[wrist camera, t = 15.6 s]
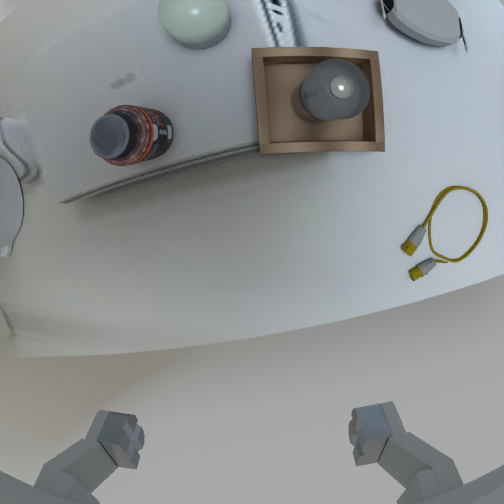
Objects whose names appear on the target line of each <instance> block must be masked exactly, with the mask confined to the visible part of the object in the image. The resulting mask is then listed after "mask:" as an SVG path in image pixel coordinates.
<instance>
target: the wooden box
mask: <svg viewBox="0 0 504 504" xmlns="http://www.w3.org/2000/svg"><path fill="white" fill-rule="evenodd" d="M328 59H343V60H347V61H349V62H351V63H353V64H355V65H356V66H357V67H359V68H360V69H361V70H362V72H363V73H364V74H365V76H366V78H367V80H368V82H369V86H370V98H369V102H368V104H367V106H366V108H365V109H364V110H363V111H362V112H361V113H360V114H358V115H357V116H355V117H352V118H349V119H342V120H335V121H328V122H321V123H310V122H306V121H304V120H302V119H301V118H300V117H298V116H297V114H296V113H295V112H294V110H293V107H292V103H291V97H292V93H293V91H294V90H295V88H296V87H297V86H298V85H299V84H300V83H301V81H302V80H303V79H304V78H305V77H306V76H307V75H308V74H309V73H310V72H311V71H312V70H313V69H314V68H315V66H317V65H318V64H319V63H321V62H322V61H325V60H328ZM252 64H253V75H254V88H255V100H256V112H257V125H258V138H259V151H260V154H272V153H291V152H321V151H381V152H385V137H384V114H383V98H382V86H381V75H380V65H379V56H378V51H369V50H359V49H346V48H328V47H270V48H252Z"/></svg>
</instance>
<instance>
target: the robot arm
mask: <svg viewBox="0 0 504 504" xmlns="http://www.w3.org/2000/svg"><path fill="white" fill-rule="evenodd" d="M22 217H23V199H22V192H21V188H20V184H19V181H18V179H17V176H16V174H15V172H14V170H13V169H12V167H11V166H10V165H9V164H8V162H7V161H5V160H4V159H3V158H1V157H0V257H3V258H6V257H8V256H10V255H11V252H12V245H13V240H14V238H15V237H16V235H17V233H18V231H19V229H20V226H21V223H22ZM352 418H353V419H352V420H351V421H350V423H349V438H350V443H351V444H352V445H353V446H355V448H354V451H353V455H354V459H355V463H356V466H360V465H366V464H370V463H376V462H378V464H379V465H380V466H381V467H382V468H383V469H385V470H386V471H387V472H388V473H389V474H390V475H391V476H392V477H393V478H394V479H396V480H397V481H398V482H399V483H400V484H401V485H402V486H404V487H405V488H406V490H405V491H404V493H403V494H402V495H401V496H400V498H399V499H398V500H397V503H398V504H504V465H503V466H501V467H499V468H497V469H495V470H493V471H491V472H489V473H487V474H485V475H483V476H481V477H480V478H477V479H475V480H473V481H471V482H469V483H467V484H464V485H463V482H462V480H461V477H460V475H459V473H458V471H457V468H456V466H455V464H454V461H453V459H451V458H449V457H448V456H446V455H444V454H443V453H441V452H440V451H438V450H436V449H435V448H433V447H432V446H430V445H429V444H427V443H426V442H424V441H422V440H421V439H419V438H418V437H416V436H415V435H413V434H412V433H410V432H408V433H406V431H405V429H404V427H403V424H402V422H401V419H400V417H399V414H398V412H397V410H396V407H395V405H394V403H393V402H392V401H390V402H385V403H381V404H374V405H369V406H364V407H359V408H354V409H353V410H352ZM143 445H144V431H143V429H142V427H141V426H139V425H138V424H137V418H136V416H135V415H131V414H124V413H118V412H111V411H105V410H99V411H98V412H97V414H96V416H95V418H94V420H93V423H92V425H91V427H90V429H89V431H88V433H87V436H86V438H85V439H81V440H79V441H78V442H76V443H75V444H73V445H72V446H71V447H69V448H68V449H66V450H65V451H63V452H62V453H60V454H59V455H57V456H56V457H54V458H53V459H51V460H50V461H48V462H47V463H45V464H44V465H43V468H42V470H41V472H40V474H39V476H38V478H37V481H36V483H35V485H34V487H33V486H31V485H29V484H27V483H24V482H22V481H20V480H18V479H16V478H14V477H12V476H10V475H8V474H6V473H4V472H2V471H0V504H100V503H99V501H98V500H97V499H96V498H95V497H94V496H93V495H92V494H91V493H92V492H93V491H94V490H95V489H96V488H97V487H98V486H99V485H100V484H101V483H102V482H103V481H104V480H105V479H106V478H107V477H109V475H110V474H112V473H113V472H114V471H115V470H116V469H117V468H118V467H117V466H119V467H125V468H131V469H137V466H138V462H139V459H140V455H139V453H138V451H139V450H141V449H142V448H143Z"/></svg>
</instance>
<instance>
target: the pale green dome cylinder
mask: <svg viewBox="0 0 504 504" xmlns="http://www.w3.org/2000/svg"><path fill="white" fill-rule="evenodd" d="M157 13H158V18H159V21H160V23H161V24H162V26H163V27H164V28H165V29H166V30H167V31H168V32H169V33H170V34H171V35H172V36H173V37H174V39H175V40H176V41H177V42H178V43H179V44H181V45H182V46H184V47H186V48H189V49H197V50H199V49H206V48H210V47H212V46H214V45H216V44H218V43H219V42H221V41H222V40H223V39H224V38H225V37H226V35H227V34H228V32H229V30H230V27H231V16H230V12H229V8H228V3H227V0H160V3H159V5H158V12H157Z"/></svg>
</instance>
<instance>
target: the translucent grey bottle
mask: <svg viewBox="0 0 504 504" xmlns="http://www.w3.org/2000/svg"><path fill="white" fill-rule="evenodd" d="M369 98H370V86H369V82H368V80H367V78H366V76H365V74H364V73H363V72H362V70H361V69H360V68H359V67H357V66H356V65H355V64H353V63H351V62H349V61H347V60H343V59H328V60H325V61H322V62H321V63H319V64H318V65H317V66H315V68H314V69H313V70H312V71H311V72H310V73H309V74H308V75H307V76H306V77H305V78H304V79H303V80H302V81H301V83H300V84H299V85H298V86H297V87H296V88H295V90H294V91H293V93H292V97H291V103H292V107H293V110H294V112H295V113H296V114H297V116H298V117H300V118H301V119H302V120H304V121H306V122H310V123H321V122H328V121H335V120H342V119H349V118H352V117H355V116H357V115H358V114H360V113H361V112H362V111H363V110H364V109H365V108H366V106H367V104H368V102H369Z"/></svg>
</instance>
